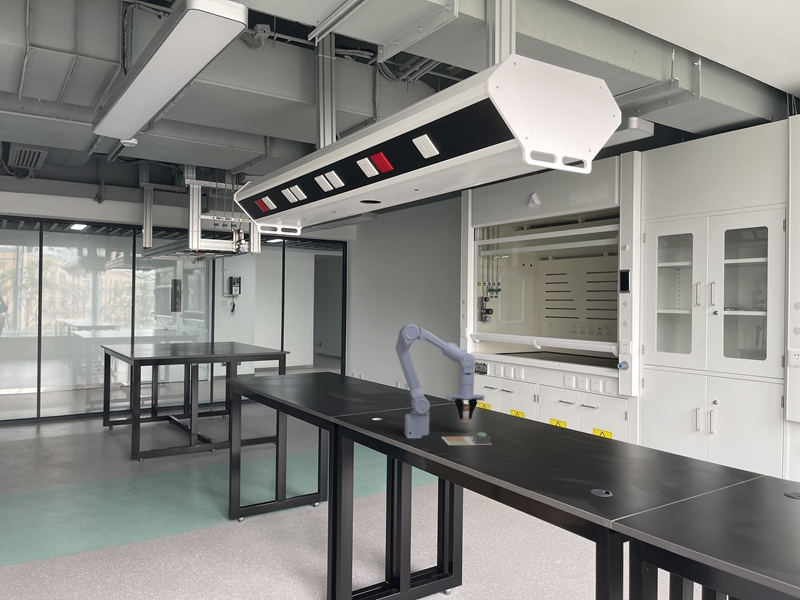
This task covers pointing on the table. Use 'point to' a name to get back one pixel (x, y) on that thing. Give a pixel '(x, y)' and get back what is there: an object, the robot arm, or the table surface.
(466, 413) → the orange and grey cylinder
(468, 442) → the board
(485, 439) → the button housing
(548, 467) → the table surface
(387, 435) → the table surface
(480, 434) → the button
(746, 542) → the table surface
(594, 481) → the table surface
